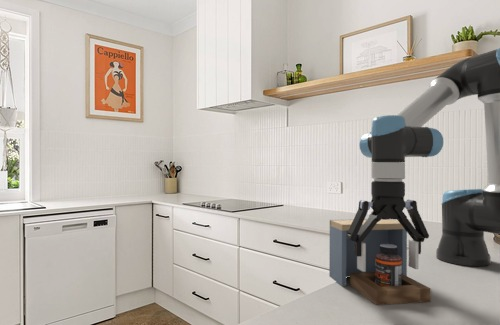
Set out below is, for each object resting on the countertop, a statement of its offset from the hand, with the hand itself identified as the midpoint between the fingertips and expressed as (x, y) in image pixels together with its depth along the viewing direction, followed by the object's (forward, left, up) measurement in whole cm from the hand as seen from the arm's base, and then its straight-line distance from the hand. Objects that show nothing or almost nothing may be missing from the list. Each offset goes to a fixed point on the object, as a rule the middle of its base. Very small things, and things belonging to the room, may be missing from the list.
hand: (387, 268), depth 83 cm
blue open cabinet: (0, -10, -6) cm, 12 cm away
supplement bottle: (0, 0, -6) cm, 6 cm away
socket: (0, 0, -6) cm, 6 cm away
